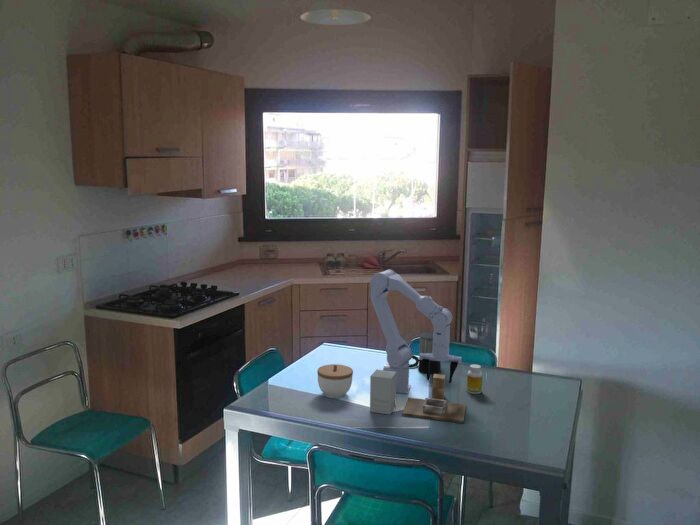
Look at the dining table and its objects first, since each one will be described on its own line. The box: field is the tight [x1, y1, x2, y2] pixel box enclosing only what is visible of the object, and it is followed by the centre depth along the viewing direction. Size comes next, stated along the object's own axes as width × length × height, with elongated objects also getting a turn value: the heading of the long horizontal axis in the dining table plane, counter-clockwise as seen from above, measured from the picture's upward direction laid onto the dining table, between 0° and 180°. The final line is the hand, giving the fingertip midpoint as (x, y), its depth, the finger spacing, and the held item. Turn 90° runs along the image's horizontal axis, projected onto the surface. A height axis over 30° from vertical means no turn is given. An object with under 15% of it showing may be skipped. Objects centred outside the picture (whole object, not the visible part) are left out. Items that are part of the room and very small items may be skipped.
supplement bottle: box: [466, 364, 483, 395], centre depth 222 cm, size 5×5×10 cm
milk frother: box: [409, 331, 442, 375], centre depth 245 cm, size 14×16×15 cm
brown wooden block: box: [431, 373, 446, 400], centre depth 216 cm, size 4×4×8 cm
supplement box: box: [369, 368, 397, 415], centre depth 204 cm, size 7×7×13 cm
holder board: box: [401, 397, 467, 424], centre depth 205 cm, size 20×14×3 cm
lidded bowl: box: [317, 363, 354, 399], centre depth 216 cm, size 13×13×11 cm
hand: (439, 380), depth 215 cm, fingers open, 7 cm apart
